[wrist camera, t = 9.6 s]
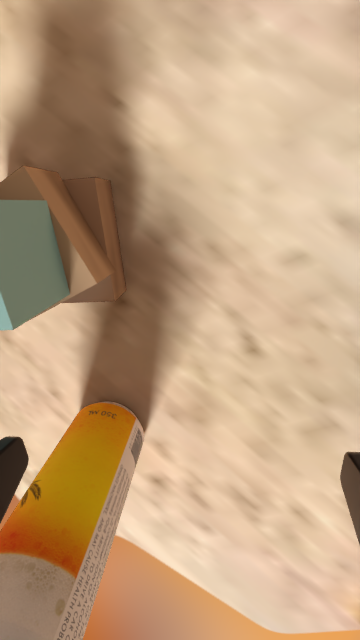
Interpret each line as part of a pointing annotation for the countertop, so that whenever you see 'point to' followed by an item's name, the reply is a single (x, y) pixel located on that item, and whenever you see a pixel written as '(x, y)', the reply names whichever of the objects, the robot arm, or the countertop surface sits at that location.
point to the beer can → (67, 527)
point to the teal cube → (28, 262)
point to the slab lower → (99, 235)
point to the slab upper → (62, 227)
